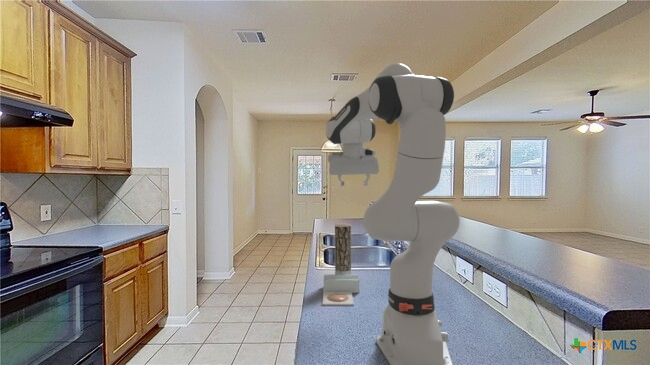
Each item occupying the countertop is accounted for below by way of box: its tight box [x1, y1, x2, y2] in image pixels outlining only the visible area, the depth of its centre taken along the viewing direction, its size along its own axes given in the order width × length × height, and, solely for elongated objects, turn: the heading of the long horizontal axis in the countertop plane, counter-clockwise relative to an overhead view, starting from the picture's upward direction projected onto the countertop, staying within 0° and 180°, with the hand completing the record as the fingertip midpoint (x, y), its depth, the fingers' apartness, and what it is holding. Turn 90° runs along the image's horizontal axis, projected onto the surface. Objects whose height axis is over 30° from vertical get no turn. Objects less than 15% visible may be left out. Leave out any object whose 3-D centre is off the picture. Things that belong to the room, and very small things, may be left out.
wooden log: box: [334, 222, 352, 275], centre depth 136 cm, size 7×7×25 cm
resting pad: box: [322, 291, 355, 307], centre depth 118 cm, size 11×11×1 cm
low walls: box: [323, 274, 360, 294], centre depth 128 cm, size 7×14×5 cm, turn 88°
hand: (354, 185), depth 131 cm, fingers open, 8 cm apart
